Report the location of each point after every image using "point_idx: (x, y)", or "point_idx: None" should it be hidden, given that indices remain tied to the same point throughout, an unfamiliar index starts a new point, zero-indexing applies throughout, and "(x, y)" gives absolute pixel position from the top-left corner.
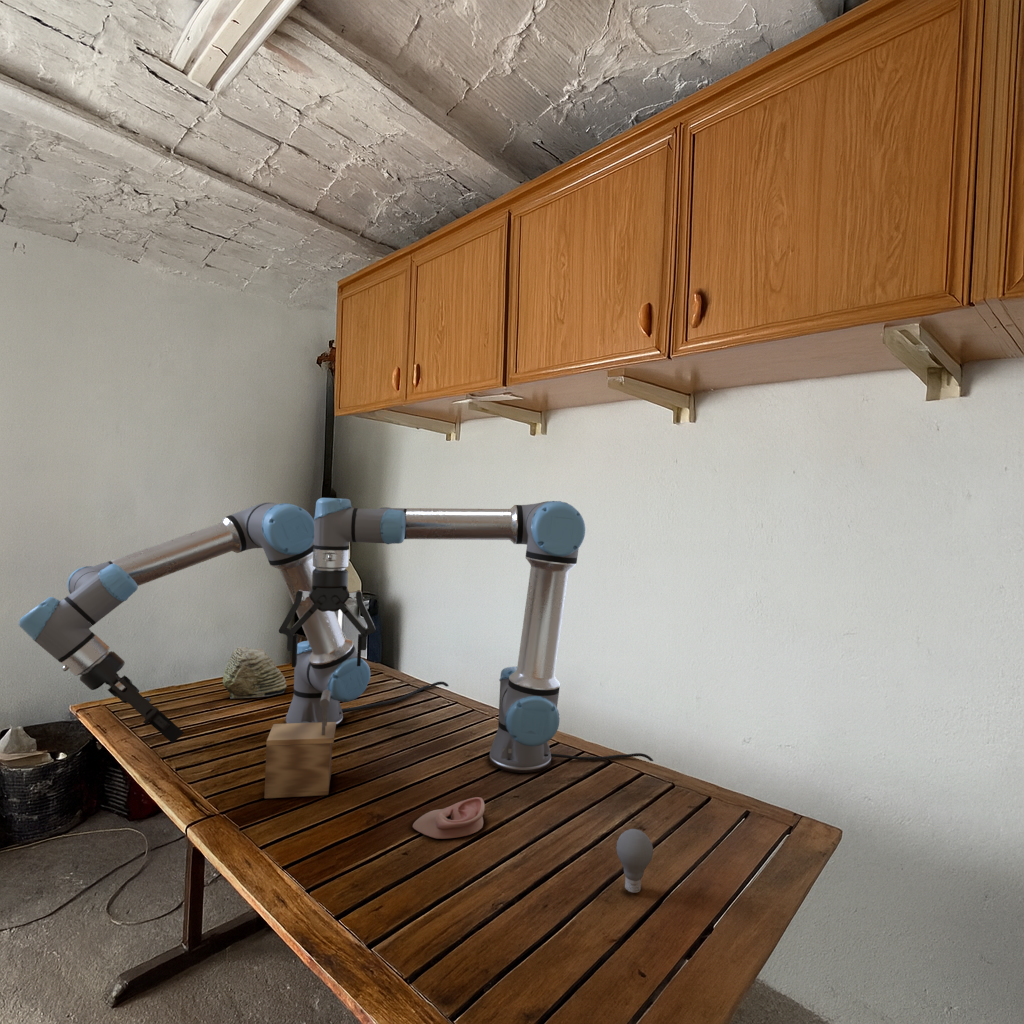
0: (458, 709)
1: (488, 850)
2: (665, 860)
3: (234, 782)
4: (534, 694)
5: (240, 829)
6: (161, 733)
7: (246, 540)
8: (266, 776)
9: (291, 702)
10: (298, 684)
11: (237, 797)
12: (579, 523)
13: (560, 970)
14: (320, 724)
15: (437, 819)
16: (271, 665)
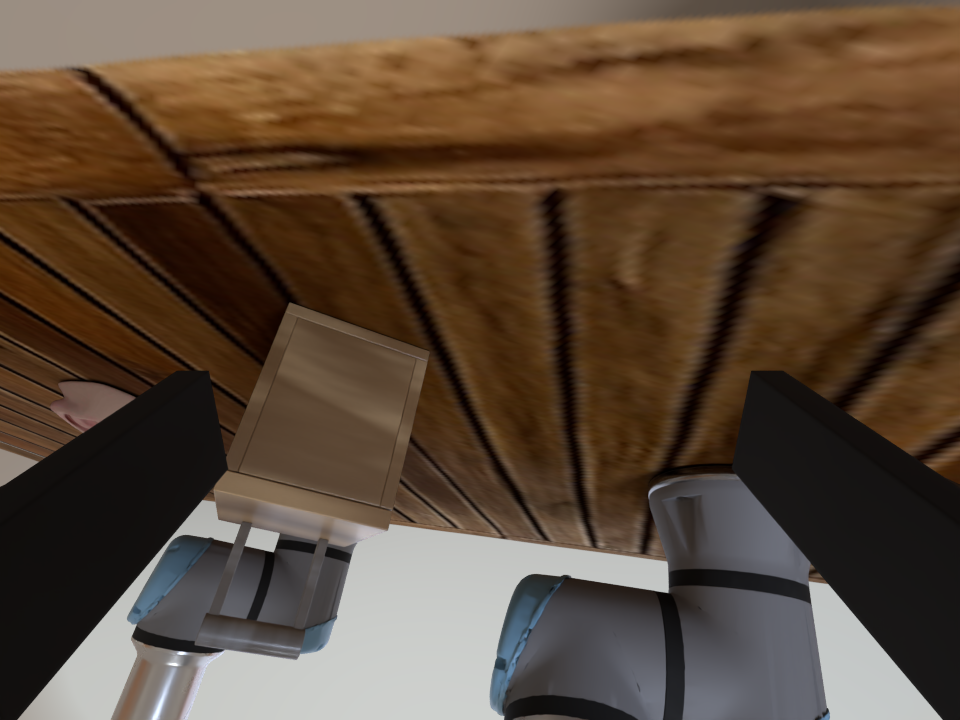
0: (565, 539)
1: (35, 394)
2: (40, 440)
3: (455, 292)
4: (136, 626)
5: (67, 199)
6: (83, 435)
7: None
8: (264, 366)
9: (785, 545)
10: (745, 615)
11: (324, 263)
12: None
13: None
14: (334, 540)
15: (66, 411)
16: None
